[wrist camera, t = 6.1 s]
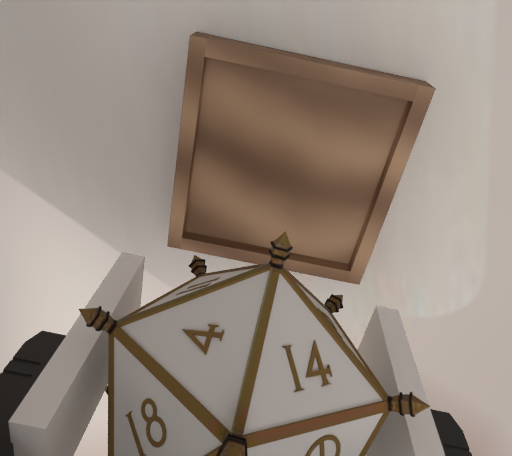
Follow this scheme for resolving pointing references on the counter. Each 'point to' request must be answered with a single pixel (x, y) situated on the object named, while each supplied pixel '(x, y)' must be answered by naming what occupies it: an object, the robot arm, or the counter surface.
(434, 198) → the counter surface
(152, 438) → the game die
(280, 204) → the walnut tray
